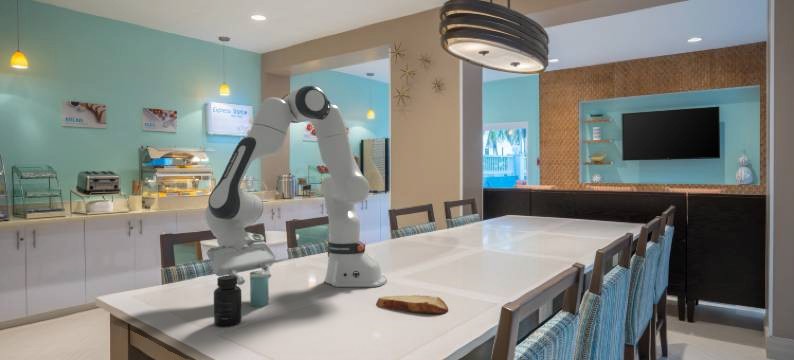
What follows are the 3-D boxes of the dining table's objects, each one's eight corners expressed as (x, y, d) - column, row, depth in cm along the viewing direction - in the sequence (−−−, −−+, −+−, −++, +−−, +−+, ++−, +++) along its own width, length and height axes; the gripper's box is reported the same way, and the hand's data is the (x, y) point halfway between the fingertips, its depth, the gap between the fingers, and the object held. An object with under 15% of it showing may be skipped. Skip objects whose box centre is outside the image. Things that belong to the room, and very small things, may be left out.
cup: (272, 302, 137) (271, 271, 137) (263, 307, 132) (263, 275, 131) (255, 301, 138) (255, 270, 138) (246, 306, 133) (246, 274, 132)
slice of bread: (372, 303, 137) (372, 291, 137) (426, 297, 144) (426, 285, 144) (394, 322, 120) (394, 308, 120) (454, 313, 127) (454, 300, 127)
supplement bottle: (218, 319, 121) (218, 274, 121) (244, 318, 122) (244, 274, 122) (210, 328, 114) (209, 280, 114) (237, 327, 115) (237, 280, 115)
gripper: (209, 242, 131) (229, 280, 126) (266, 234, 148) (286, 268, 142) (200, 255, 134) (219, 294, 128) (258, 246, 151) (277, 280, 145)
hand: (255, 280), depth 136 cm, fingers open, 8 cm apart
